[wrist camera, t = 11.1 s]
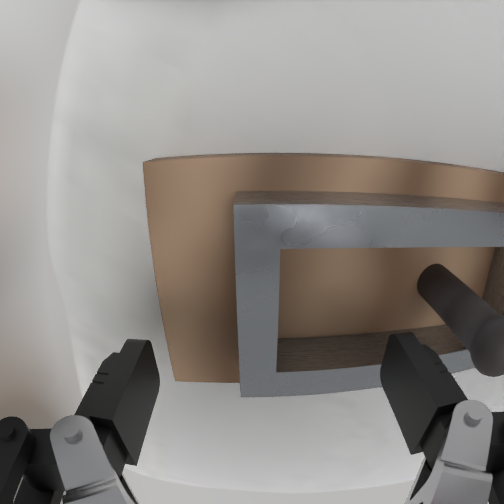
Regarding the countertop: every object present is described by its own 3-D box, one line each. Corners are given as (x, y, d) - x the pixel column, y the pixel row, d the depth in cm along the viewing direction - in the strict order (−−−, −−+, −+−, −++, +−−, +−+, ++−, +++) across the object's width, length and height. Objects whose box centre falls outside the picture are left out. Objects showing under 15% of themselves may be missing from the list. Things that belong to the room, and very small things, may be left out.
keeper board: (535, 179, 14) (634, 218, 6) (499, 330, 19) (563, 402, 10) (155, 158, 14) (45, 196, 6) (181, 359, 19) (149, 486, 10)
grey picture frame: (518, 204, 13) (548, 217, 11) (483, 337, 16) (503, 359, 14) (236, 191, 13) (233, 204, 11) (241, 362, 16) (240, 397, 14)
